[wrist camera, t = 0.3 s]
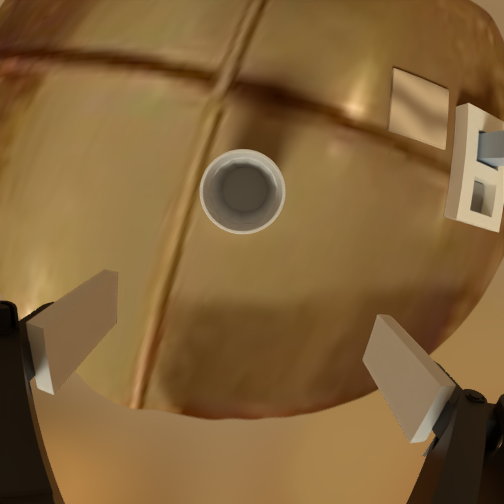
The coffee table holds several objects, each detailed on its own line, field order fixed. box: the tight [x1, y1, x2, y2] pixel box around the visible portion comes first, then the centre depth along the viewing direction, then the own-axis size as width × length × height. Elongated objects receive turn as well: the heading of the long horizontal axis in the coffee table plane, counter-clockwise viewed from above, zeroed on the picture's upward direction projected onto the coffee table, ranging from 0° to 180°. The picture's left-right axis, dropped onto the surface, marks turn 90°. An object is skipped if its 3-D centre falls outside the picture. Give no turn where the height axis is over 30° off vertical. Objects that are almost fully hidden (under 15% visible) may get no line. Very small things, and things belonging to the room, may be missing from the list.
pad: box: [387, 68, 449, 150], centre depth 38 cm, size 10×10×1 cm
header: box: [444, 103, 504, 232], centre depth 38 cm, size 18×10×4 cm, turn 171°
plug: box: [477, 131, 504, 166], centre depth 33 cm, size 4×4×13 cm
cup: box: [200, 149, 286, 234], centre depth 35 cm, size 8×8×12 cm
